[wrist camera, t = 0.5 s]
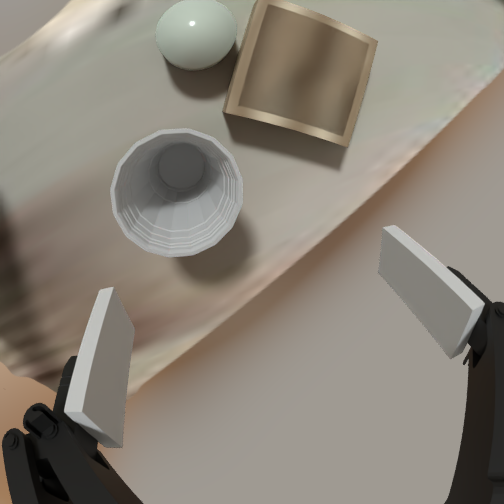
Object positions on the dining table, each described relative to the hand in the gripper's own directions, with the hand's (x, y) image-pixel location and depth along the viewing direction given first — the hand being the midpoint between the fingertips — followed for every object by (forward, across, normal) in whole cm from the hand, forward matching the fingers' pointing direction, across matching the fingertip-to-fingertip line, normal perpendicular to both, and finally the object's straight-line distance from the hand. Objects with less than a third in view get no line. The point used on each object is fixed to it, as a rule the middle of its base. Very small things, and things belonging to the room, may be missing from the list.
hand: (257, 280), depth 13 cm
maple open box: (+23, +11, +10) cm, 27 cm away
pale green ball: (+23, 0, +16) cm, 28 cm away
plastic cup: (+23, -4, +1) cm, 24 cm away
